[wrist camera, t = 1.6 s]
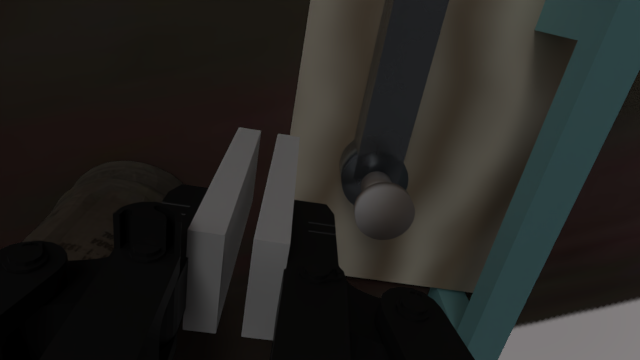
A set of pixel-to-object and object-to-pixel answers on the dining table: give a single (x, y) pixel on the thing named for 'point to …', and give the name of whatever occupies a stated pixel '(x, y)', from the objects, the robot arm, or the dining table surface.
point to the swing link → (393, 92)
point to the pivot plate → (427, 136)
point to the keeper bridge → (551, 166)
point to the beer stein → (100, 206)
